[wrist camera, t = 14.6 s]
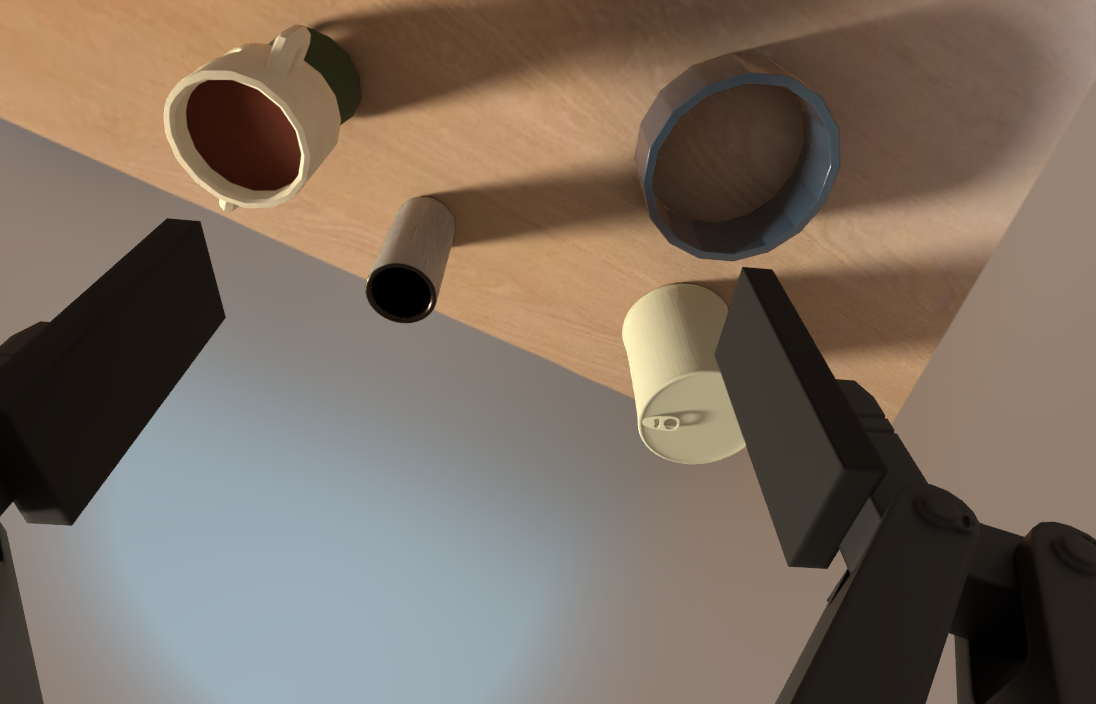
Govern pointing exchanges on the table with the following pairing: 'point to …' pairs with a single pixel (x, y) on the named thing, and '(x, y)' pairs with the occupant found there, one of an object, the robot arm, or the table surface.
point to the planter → (412, 261)
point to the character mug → (262, 117)
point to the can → (681, 375)
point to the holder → (775, 216)
